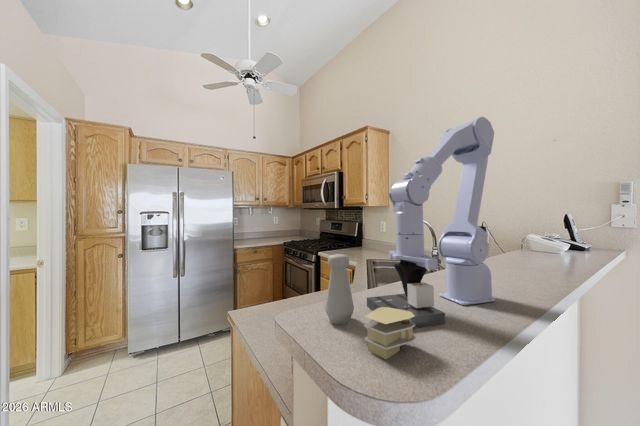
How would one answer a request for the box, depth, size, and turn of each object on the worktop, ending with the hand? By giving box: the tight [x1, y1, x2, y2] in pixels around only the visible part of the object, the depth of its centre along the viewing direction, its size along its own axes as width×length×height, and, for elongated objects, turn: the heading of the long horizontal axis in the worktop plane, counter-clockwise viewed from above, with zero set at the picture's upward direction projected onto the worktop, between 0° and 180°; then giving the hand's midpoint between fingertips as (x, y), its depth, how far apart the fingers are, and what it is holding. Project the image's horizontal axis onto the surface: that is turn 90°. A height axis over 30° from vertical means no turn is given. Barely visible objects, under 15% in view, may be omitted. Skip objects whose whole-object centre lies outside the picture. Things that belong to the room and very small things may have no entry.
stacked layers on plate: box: [363, 307, 416, 360], centre depth 39 cm, size 10×9×6 cm
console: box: [366, 293, 446, 329], centre depth 52 cm, size 10×13×2 cm
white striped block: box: [407, 281, 435, 308], centre depth 51 cm, size 4×3×4 cm
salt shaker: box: [324, 253, 355, 325], centre depth 50 cm, size 6×6×13 cm
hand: (411, 296), depth 54 cm, fingers closed
